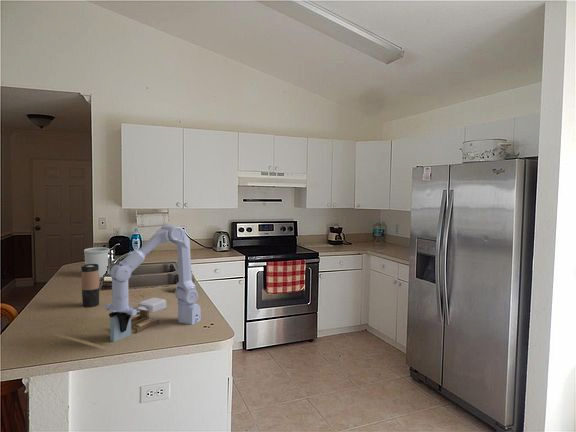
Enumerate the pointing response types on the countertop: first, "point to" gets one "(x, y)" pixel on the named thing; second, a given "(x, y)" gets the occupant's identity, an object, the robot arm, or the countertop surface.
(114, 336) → the board
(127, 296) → the robot arm
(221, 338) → the countertop surface
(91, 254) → the utensil holder
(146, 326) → the tray
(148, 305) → the charger
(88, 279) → the travel mug
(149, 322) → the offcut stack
